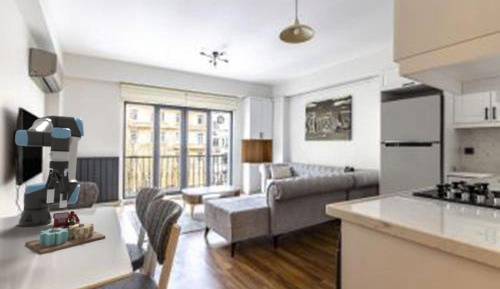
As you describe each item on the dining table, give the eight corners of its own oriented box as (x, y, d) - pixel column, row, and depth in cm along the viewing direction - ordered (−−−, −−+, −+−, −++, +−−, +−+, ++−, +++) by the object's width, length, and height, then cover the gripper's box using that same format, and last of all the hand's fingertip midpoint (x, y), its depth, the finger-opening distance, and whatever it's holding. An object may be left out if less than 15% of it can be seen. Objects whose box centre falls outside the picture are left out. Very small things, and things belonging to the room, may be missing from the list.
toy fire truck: (80, 230, 150) (81, 211, 150) (53, 234, 141) (54, 214, 141) (77, 227, 155) (78, 209, 155) (51, 231, 146) (52, 211, 146)
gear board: (25, 244, 125) (26, 229, 125) (88, 231, 149) (89, 218, 149) (41, 253, 116) (42, 237, 116) (105, 238, 140) (106, 224, 140)
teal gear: (61, 236, 135) (62, 226, 135) (72, 241, 129) (72, 231, 129) (34, 242, 126) (35, 231, 126) (44, 247, 120) (45, 236, 120)
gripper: (39, 158, 132) (35, 202, 131) (62, 162, 118) (59, 210, 118) (56, 158, 138) (53, 200, 138) (81, 162, 125) (77, 208, 124)
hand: (56, 205), depth 128 cm, fingers open, 13 cm apart
